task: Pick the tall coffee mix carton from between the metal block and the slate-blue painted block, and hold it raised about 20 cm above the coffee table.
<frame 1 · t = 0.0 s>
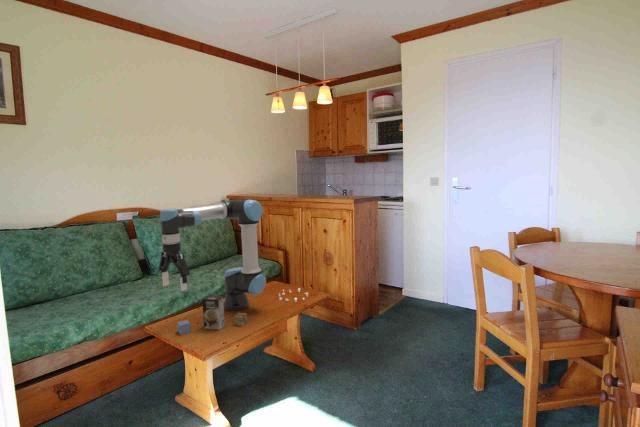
hand: (174, 287, 173), 28 cm above the table, tool pointing down, fingers open, 13 cm apart
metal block: (240, 323, 198), on the table
game piece set: (293, 297, 237), on the table
coffee box: (214, 327, 195), on the table
slate block: (184, 332, 190), on the table
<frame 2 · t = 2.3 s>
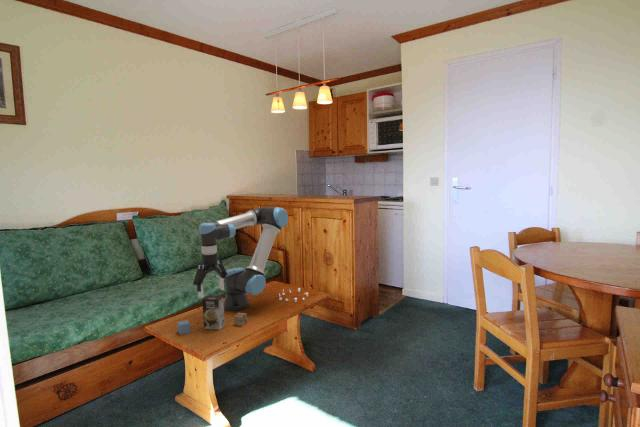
hand: (211, 293, 192), 18 cm above the table, tool pointing down, fingers open, 13 cm apart
nothing on the table moved.
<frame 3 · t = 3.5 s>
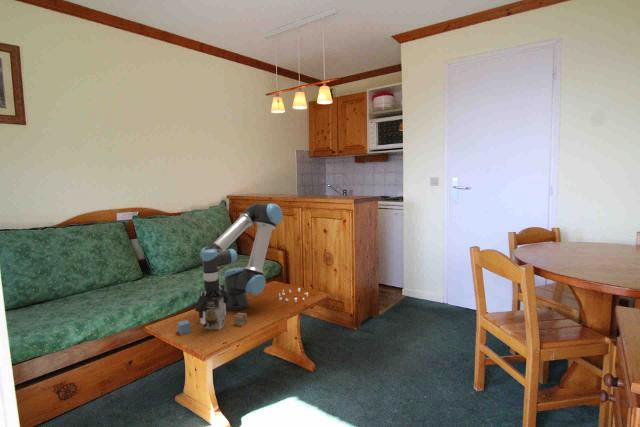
hand: (213, 319, 194), 4 cm above the table, tool pointing down, fingers open, 13 cm apart
nothing on the table moved.
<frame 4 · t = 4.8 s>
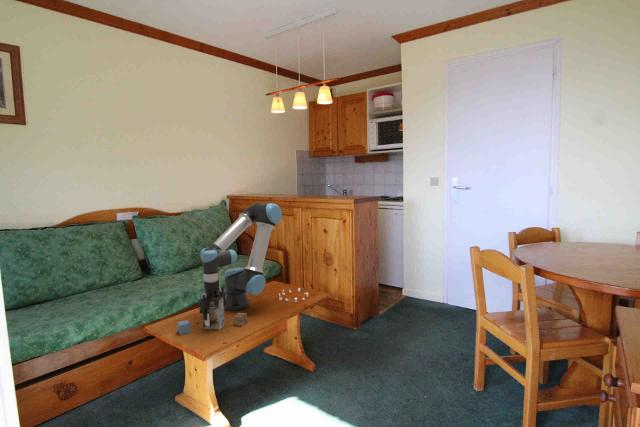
hand: (214, 322, 195), 3 cm above the table, tool pointing down, fingers closed on coffee box, 8 cm apart
coffee box: (214, 327, 195), on the table, touching gripper
everything else where it was.
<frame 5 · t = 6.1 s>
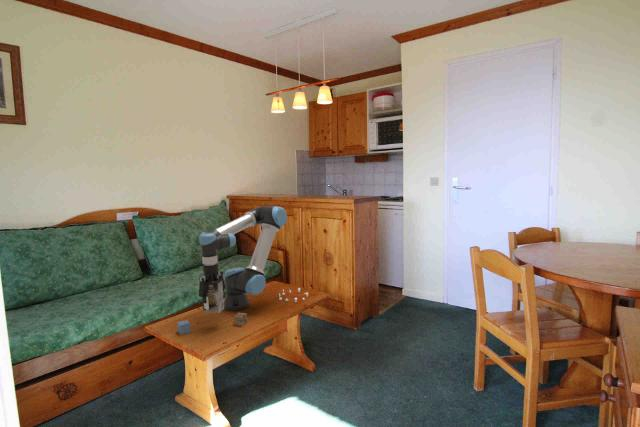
hand: (213, 305, 194), 11 cm above the table, tool pointing down, fingers closed on coffee box, 8 cm apart
coffee box: (214, 310, 194), point 9 cm above the table, touching gripper
everything else where it was.
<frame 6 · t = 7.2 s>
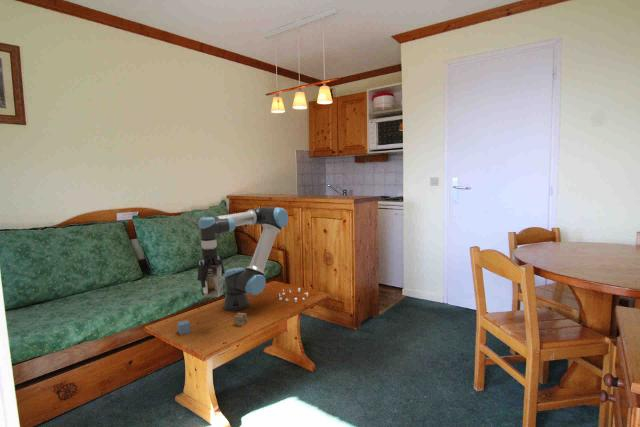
hand: (212, 290, 193), 20 cm above the table, tool pointing down, fingers closed on coffee box, 8 cm apart
coffee box: (212, 295, 193), point 17 cm above the table, touching gripper
everything else where it was.
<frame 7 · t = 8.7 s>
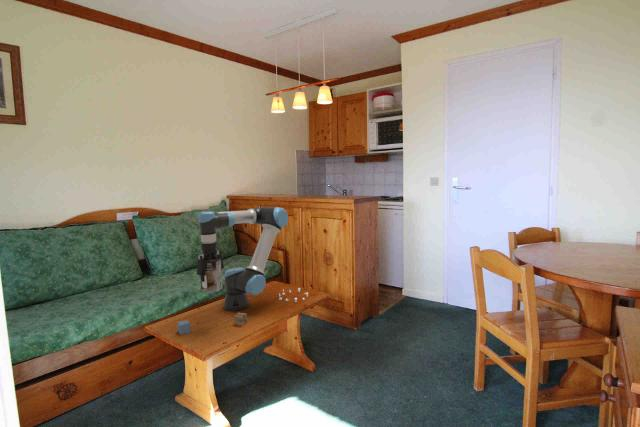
hand: (211, 285, 192), 23 cm above the table, tool pointing down, fingers closed on coffee box, 8 cm apart
coffee box: (212, 290, 192), point 20 cm above the table, touching gripper
everything else where it was.
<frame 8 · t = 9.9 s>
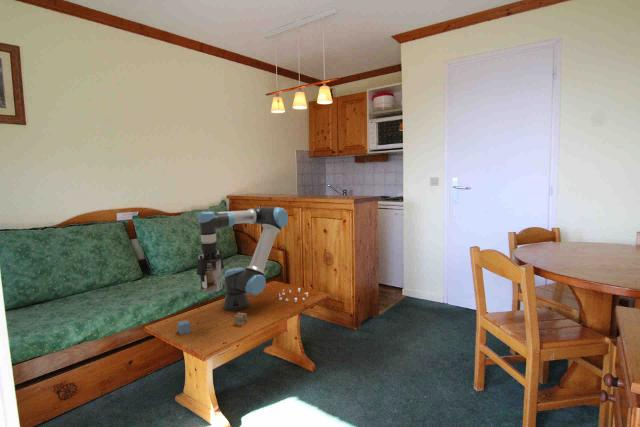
hand: (211, 285, 192), 23 cm above the table, tool pointing down, fingers closed on coffee box, 8 cm apart
coffee box: (212, 290, 192), point 20 cm above the table, touching gripper
everything else where it was.
at the end: coffee box inside the target area (0.0 cm from its centre), point 20.0 cm above the table; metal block moved 0.1 cm from its start; slate block moved 0.1 cm from its start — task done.
